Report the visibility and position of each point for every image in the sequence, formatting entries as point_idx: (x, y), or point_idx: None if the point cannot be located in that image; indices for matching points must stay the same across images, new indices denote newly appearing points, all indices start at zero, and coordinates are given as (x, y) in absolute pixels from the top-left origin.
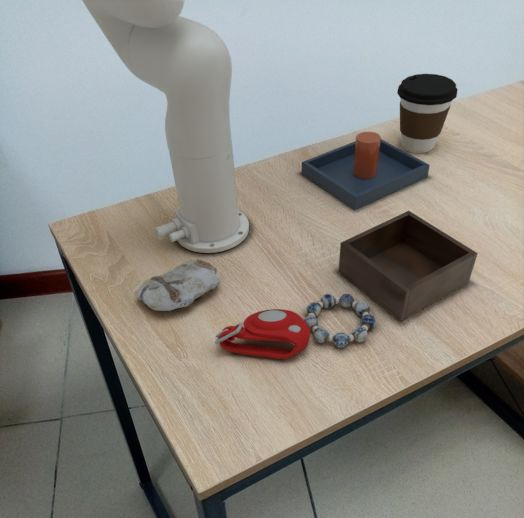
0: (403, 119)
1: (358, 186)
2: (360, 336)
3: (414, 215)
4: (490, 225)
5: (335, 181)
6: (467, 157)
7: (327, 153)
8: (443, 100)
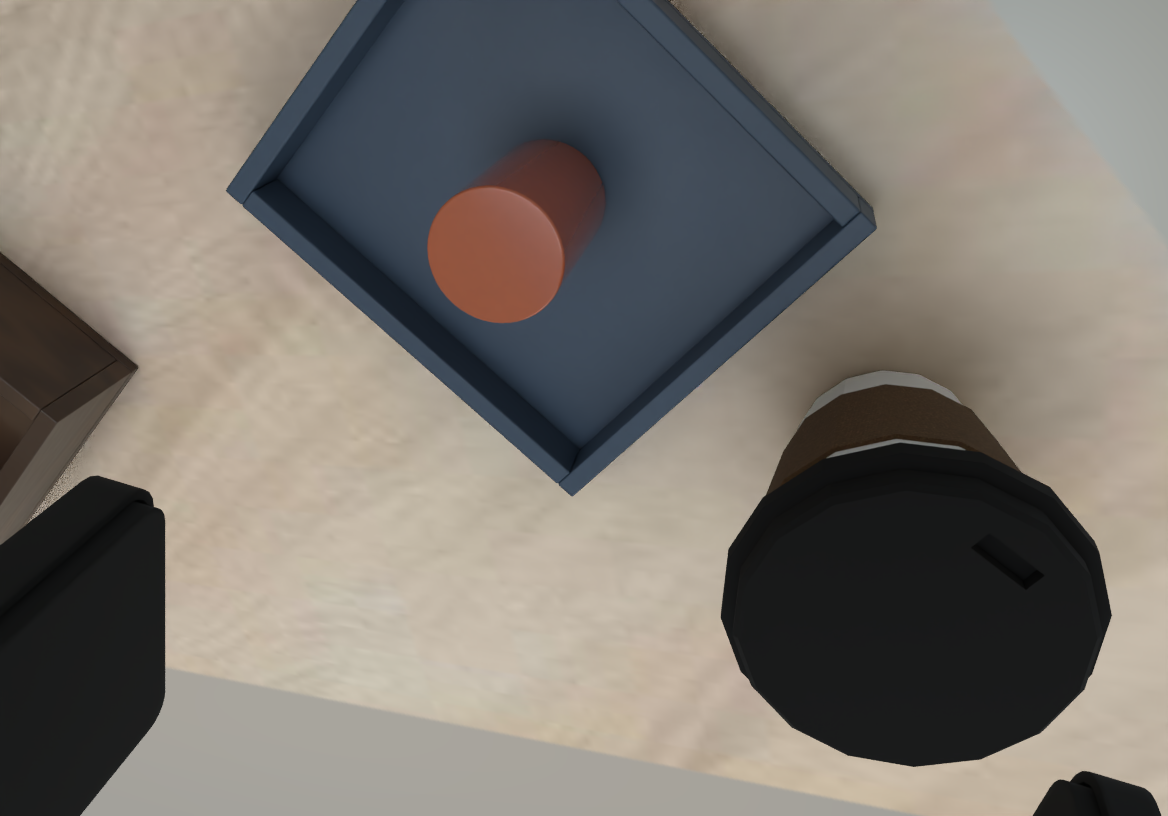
0: (827, 429)
1: (418, 178)
2: None
3: (35, 441)
4: (314, 628)
5: (323, 74)
6: None
7: None
8: (746, 675)
